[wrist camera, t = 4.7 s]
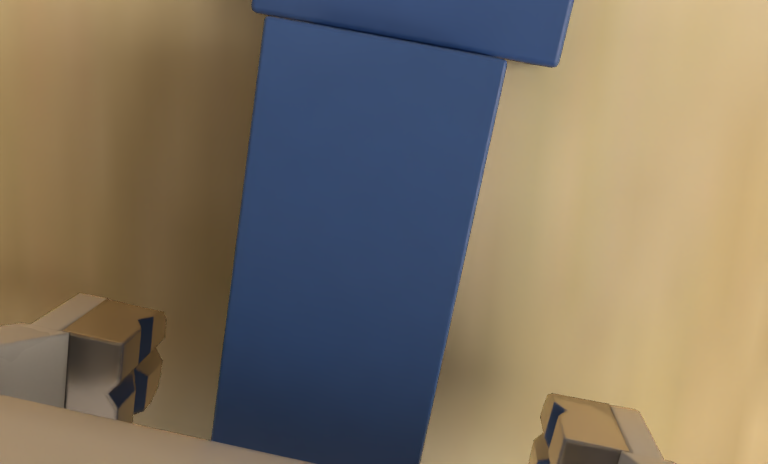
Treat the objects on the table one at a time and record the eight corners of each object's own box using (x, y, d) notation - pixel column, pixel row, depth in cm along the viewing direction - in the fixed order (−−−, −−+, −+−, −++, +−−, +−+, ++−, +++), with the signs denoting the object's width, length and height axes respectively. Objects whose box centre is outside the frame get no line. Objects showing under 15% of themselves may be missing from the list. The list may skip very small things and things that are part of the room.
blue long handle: (329, -466, 11) (257, -757, 7) (662, -415, 10) (784, -689, 7) (196, 573, 16) (111, 745, 12) (418, 622, 15) (406, 815, 12)
